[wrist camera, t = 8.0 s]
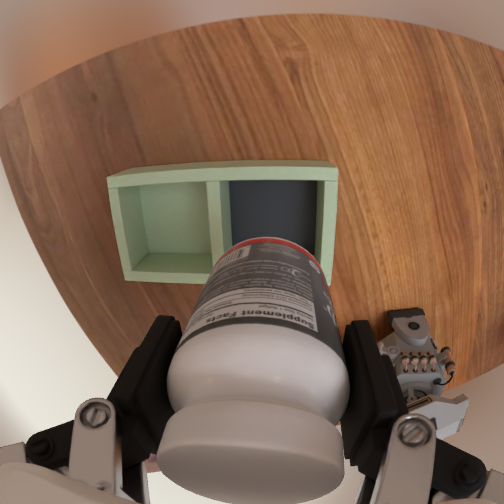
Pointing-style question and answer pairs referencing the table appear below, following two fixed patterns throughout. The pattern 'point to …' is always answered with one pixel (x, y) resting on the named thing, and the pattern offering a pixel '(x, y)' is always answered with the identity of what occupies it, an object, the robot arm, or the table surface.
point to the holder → (219, 213)
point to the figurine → (423, 371)
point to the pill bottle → (258, 382)
